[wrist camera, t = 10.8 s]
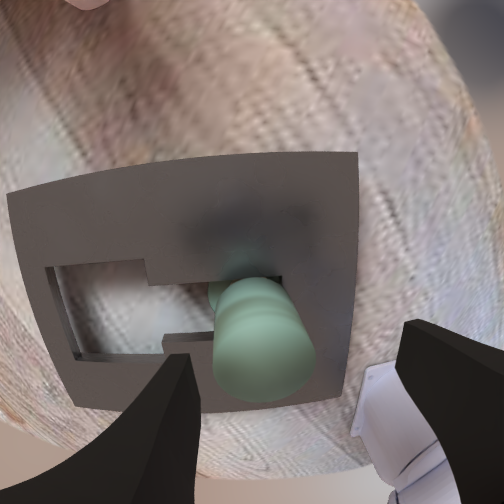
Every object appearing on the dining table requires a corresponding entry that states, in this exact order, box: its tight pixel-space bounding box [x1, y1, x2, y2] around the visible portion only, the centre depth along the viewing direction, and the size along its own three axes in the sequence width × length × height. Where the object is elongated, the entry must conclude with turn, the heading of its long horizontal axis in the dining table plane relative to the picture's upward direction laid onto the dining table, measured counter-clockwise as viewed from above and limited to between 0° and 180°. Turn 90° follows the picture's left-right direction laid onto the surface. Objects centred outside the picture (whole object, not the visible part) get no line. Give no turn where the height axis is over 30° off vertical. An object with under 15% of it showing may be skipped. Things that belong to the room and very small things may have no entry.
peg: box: [208, 276, 316, 403], centre depth 14 cm, size 5×5×8 cm
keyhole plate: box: [6, 152, 359, 413], centre depth 17 cm, size 16×20×3 cm
